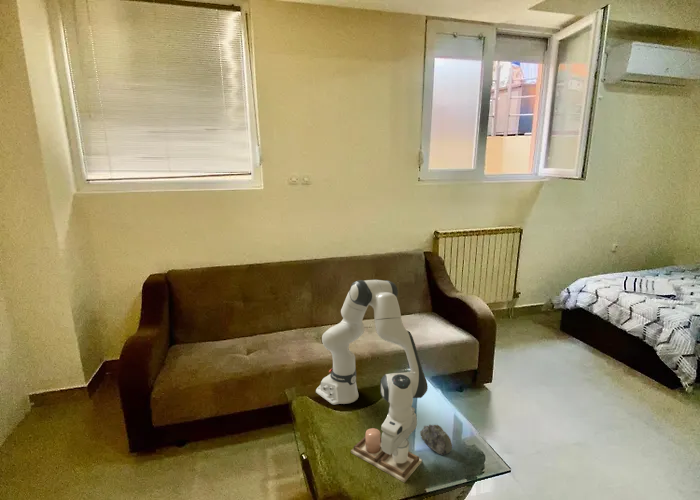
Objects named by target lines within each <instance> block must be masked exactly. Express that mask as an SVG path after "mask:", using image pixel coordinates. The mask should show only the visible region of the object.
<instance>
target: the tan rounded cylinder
mask: <svg viewBox="0 0 700 500" xmlns="http://www.w3.org/2000/svg"><path fill="white" fill-rule="evenodd" d="M365 436H366V451H367V452H369V453H372V454H375V453H378V452H379V451H380V438H381V430H379V429H378V428H373V427H372V428H368V429H367V430H365Z"/></svg>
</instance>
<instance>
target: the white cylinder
mask: <svg viewBox="0 0 700 500" xmlns="http://www.w3.org/2000/svg"><path fill="white" fill-rule="evenodd" d="M409 447H410V441H409V439H408V440H407V439H405V440H404V441H403V442H402V443H401V444H400V445H399V446H398V448H397V452H398V455H397V456H394V455H393V454H392V456H393V460H394V461H395V462H397V463H405V462H406V461H407V458H408V452H409Z"/></svg>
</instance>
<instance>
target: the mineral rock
mask: <svg viewBox="0 0 700 500" xmlns="http://www.w3.org/2000/svg"><path fill="white" fill-rule="evenodd" d="M419 433H420V437H421V438H420V439H422V441H424V443H425V444H426V445H427V446H428V447H429V448H430V449H431V450H432V451H434V452H436V453H437V454H439V455H441V456H445V455H447V454H449V453H451V451H452V449H453V443H452V441H451V438H450V435H448V434H447V432H445V431H444V429H443V428H442V427H441V426H440V425H438V424H432V425H431V424H429V425H424V426H423V429H421V430H420V432H419Z"/></svg>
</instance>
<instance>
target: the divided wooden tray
mask: <svg viewBox="0 0 700 500" xmlns="http://www.w3.org/2000/svg"><path fill="white" fill-rule="evenodd" d="M381 438H382V437H380V451H379V452H378V453H375V454H372V453H369V452H367V451H366V435H364V437H362V438H361V439H360V441H358V442H357V443H355V445H354V446H353V448H352V449H350V453H351V454H353V455H355V456H356V457H357V458H359V459H361V460H363V461H365V462H367V463H369V464H370V465H372V466H374V467H376V468H378V469H379V470H381V471H383V472H385V473H386V474H388V475H389V476H392V477H393V478H395V479H396V480H399V481H401V482H403V483H406V482H407V481H408V479H409V478H410V477H411V475H412V474H413V473H414V472H415V471H416V470H417V468H418V467H419V466H420V465H421V464H422V462H423V459H422V458H420V456H418V455H416V454H414V453H412V452H410V451H408V458H407V461H406V462H405V463H397V462H395V461H394V460H393V456H392V454H391V455H389V454H387V453H385V452H384V451H383V450H382V446H381Z"/></svg>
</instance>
